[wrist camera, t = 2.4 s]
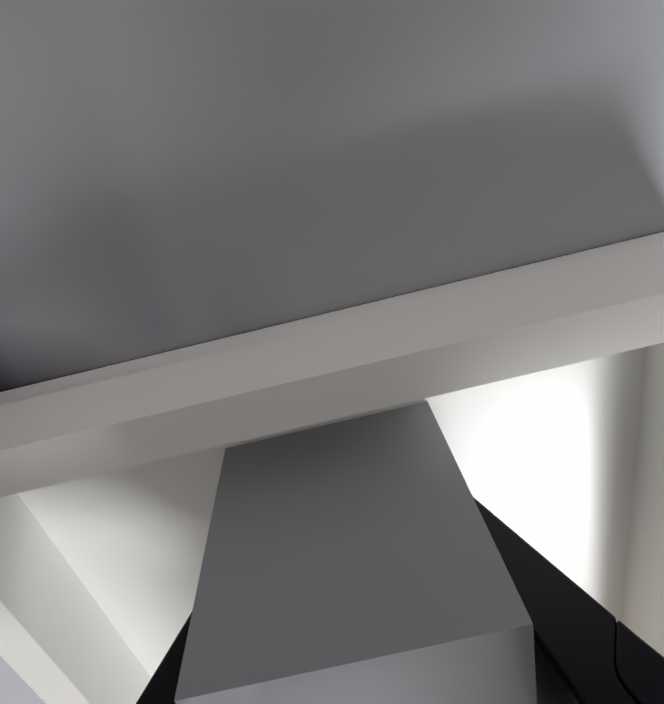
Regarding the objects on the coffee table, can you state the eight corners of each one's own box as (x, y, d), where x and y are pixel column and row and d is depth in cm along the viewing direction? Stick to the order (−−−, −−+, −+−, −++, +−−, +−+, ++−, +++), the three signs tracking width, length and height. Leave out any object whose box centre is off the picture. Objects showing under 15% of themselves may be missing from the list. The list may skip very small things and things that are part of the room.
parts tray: (677, 228, 8) (794, 262, 6) (625, 682, 15) (674, 766, 13) (-60, 406, 9) (-159, 488, 7) (209, 769, 16) (198, 863, 14)
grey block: (427, 401, 9) (533, 623, 5) (452, 560, 11) (541, 805, 7) (225, 448, 9) (173, 701, 5) (288, 597, 11) (286, 857, 7)
